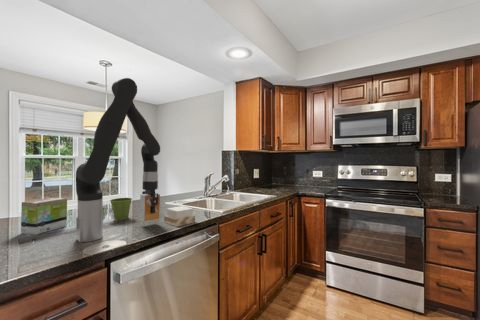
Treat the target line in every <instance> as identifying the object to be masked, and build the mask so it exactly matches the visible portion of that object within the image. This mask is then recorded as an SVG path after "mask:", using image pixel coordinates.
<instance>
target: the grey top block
mask: <svg viewBox="0 0 480 320" xmlns="http://www.w3.org/2000/svg"><path fill="white" fill-rule="evenodd" d="M166 210H167V211H166V212H167V213H166V215H167V216H169V217H172V218H175V219H179V218H184V217H189V216H193V215H194V209H193V208H192V207H188V206H185V205H181V206H175V207H167V208H166Z"/></svg>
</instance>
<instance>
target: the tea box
mask: <svg viewBox="0 0 480 320" xmlns="http://www.w3.org/2000/svg"><path fill="white" fill-rule="evenodd" d="M20 210H21V211H20V212H21V217H20V233H21V234H25V235H40V234H43V233H46V232H49V231H54V230H57V229H60V228H65V227H66V226H67V225H68V224H67V223H68V215H67V214H68V198H66V197H65V198H64V197H47V198H42V199H40V198H39V199H34V200H30V201H28V200H27V201H23V202H21V209H20Z"/></svg>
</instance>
